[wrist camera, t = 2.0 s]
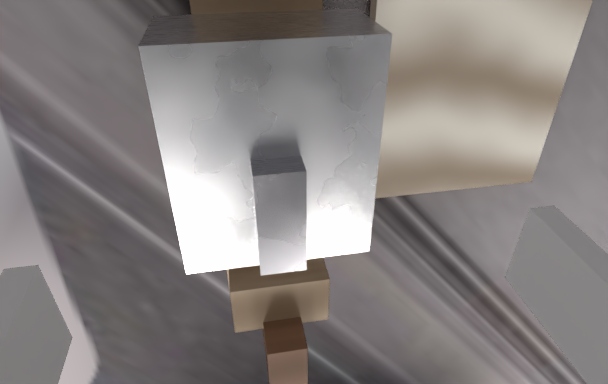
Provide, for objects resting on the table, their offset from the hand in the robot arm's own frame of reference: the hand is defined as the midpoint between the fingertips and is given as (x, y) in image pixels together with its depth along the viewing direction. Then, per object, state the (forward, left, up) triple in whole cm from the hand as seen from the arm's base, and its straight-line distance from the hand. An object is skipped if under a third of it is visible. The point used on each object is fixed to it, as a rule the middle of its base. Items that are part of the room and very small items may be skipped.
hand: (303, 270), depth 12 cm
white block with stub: (0, 0, -11) cm, 11 cm away
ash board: (0, -12, -14) cm, 19 cm away
